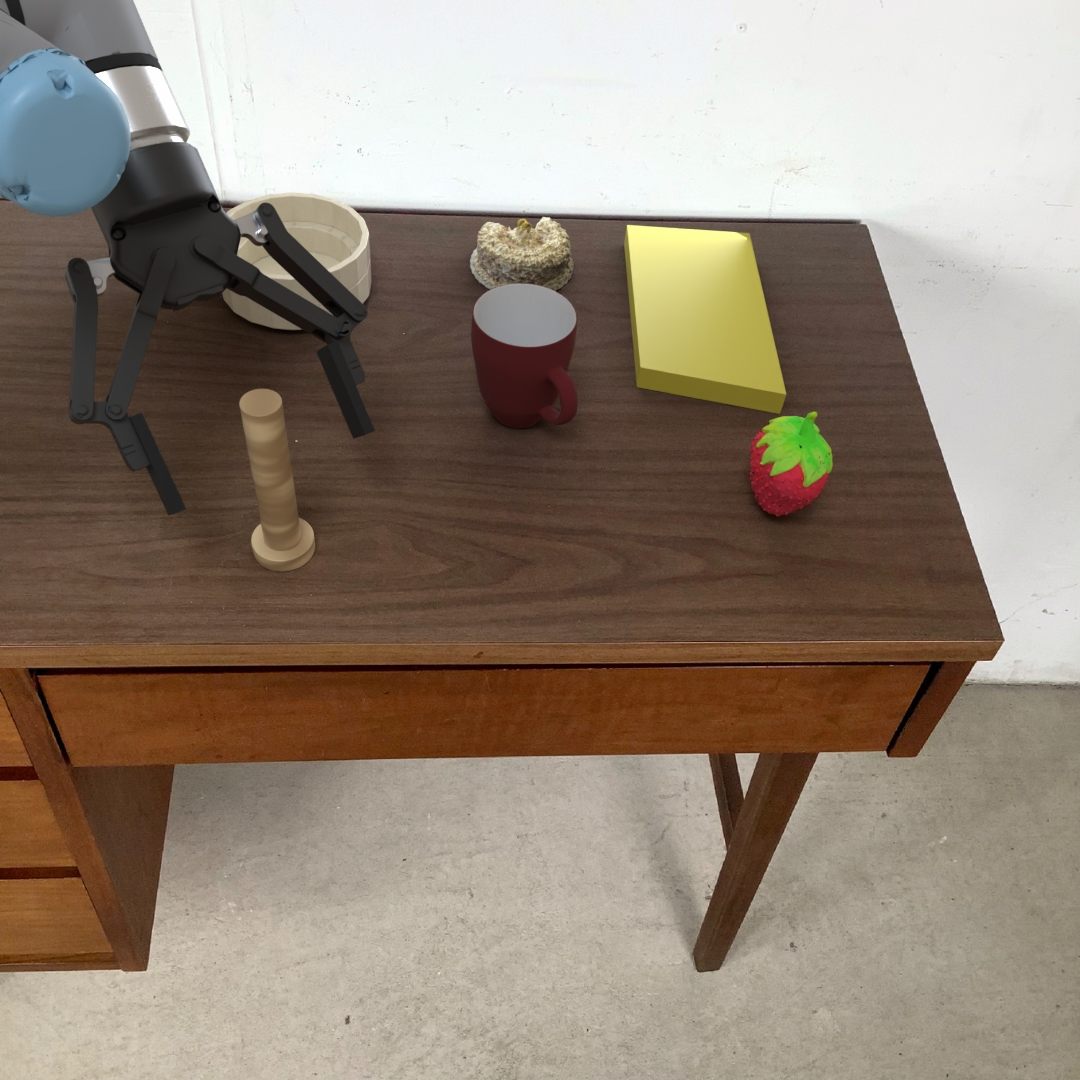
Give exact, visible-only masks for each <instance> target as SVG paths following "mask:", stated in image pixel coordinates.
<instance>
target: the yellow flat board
mask: <svg viewBox="0 0 1080 1080" xmlns="http://www.w3.org/2000/svg"><path fill="white" fill-rule="evenodd" d="M624 235H625V236H624V241H623V246H624V248H623V249H624V258H625V259H624V260H625V270H626V282H627V283H626V284H627V292H628V305H629V315H630V326H631V338H632V348H633V360H634V371H635V382H636V388H639V389H645V390H650V391H654V392H661V393H664V394H665V393H666V394H671V395H676V396H681V397H682V396H683V397H687V398H693V399H698V400H703V401H709V402H715V403H719V404H724V405H731V406H736V407H740V408H741V407H742V408H746V409H752V410H757V411H762V412H768V413H773V414H779V415H781V413H782V409H783V407H784V403H785V400H786V397H787V391H786V387H785V383H784V377H783V372H782V370H781V369H782V368H781V365H780V360H779V356H778V351H777V347H776V343H775V338H774V334H773V329H772V326H771V321H770V318H769V312H768V308H767V304H766V299H765V295H764V291H763V286H762V282H761V278H760V273H759V268H758V264H757V259H756V256H755V251H754V247H753V242H752V238H751V234H750V232H737V231H724V230H723V231H722V230H710V229H709V230H708V229H695V228H694V229H692V228H680V227H665V226H664V227H663V226H650V225H649V226H647V225H636V224H635V225H633V224H626V229H625V234H624Z"/></svg>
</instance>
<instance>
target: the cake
mask: <svg viewBox="0 0 1080 1080" xmlns="http://www.w3.org/2000/svg"><path fill="white" fill-rule="evenodd" d="M522 222H523V223H522ZM521 223H522V224H521ZM520 224H521V225H520ZM476 239H477V240H476V243H477V245H476V247H475V249H473V252H472V254H471V255H470V260H469V268H470V270H471V274H472V275H473V276H474V278H475V279H476V281H478V283H479V284H481V285H483V286H484V287H485V288H486V289H488V290H490V289H493V288H495V287H498V286H502V285H506V284H514V283H527V284H535V285H540V286H543V287H547V288H549V289H552V290H554V291H556V292H557V290H559V289H560V290H561V289H562V288H563V287H564V286H565V285H566V284H568V281H569V280H571V278H572V274H573V273H574V267H575V263H574V260H573V259H572V252H571V241H570V239H571V238H570V237H569V234H567V230H566V229H565V228H562V227H561V223H558V222H557V221H555V220H552V218H551V217H546V216H542V217H541V219H540V220H539V222H537V223H536V225H535V228H533V225H532V223H530V222H528V221H527V219H526V218H520V219H518V220H517V226H516V227H514V228H513V229H512V228H511V227H510V226H508V227H507V226H505V225H503V224H501V223H499V222H496V223H495V222H491V221H486V222H485V223H484V224H483V225H482V226H481V228H480V230H479V231H477V236H476Z"/></svg>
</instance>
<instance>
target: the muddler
mask: <svg viewBox="0 0 1080 1080" xmlns="http://www.w3.org/2000/svg"><path fill="white" fill-rule="evenodd" d="M238 406H239V413H240V416H241V423H242V429H243V433H244V439H245V444H246V448H247V449H246V450H247V456H248V460H249V465H250V466H249V467H250V470H251V476H252V477H251V478H252V482H253V488H254V494H255V498H256V504H257V509H258V510H257V511H258V515H259V520H260V523H259V524H258V525H257V526H256V527H255V529H254V530H253V532H252V535H251V538H250V543H251V544H250V545H251V549H252V554H253V557H254V559H255V561H256V562H257V563H258V564H259V565H260V566H262V567H263V568H265V569H266V570H270V571H273V572H289V571H294V570H296V569H299V568H301V567H303V566H304V565H306V564H307V563H308V562H309V561H310V560H311V559H312V557H313V556H314V553H315V551H316V539H315V533H314V529H313V527H312V526H311V525H310V524H309V522H307V520H305V519H303V518H301V517H299V511H298V504H297V496H296V490H295V489H296V488H295V483H294V476H293V468H292V461H291V456H290V455H291V454H290V448H289V440H288V435H287V433H288V432H287V425H286V420H285V419H286V418H285V414H284V406H283V399H282V397H281V396H280V394H279V393H278V392H276V391H275V390H272V389H269V388H255V389H252V390H249V391H248V392H246V393H244V394H243V395H242V396H241V397H240V399H239V402H238Z"/></svg>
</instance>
